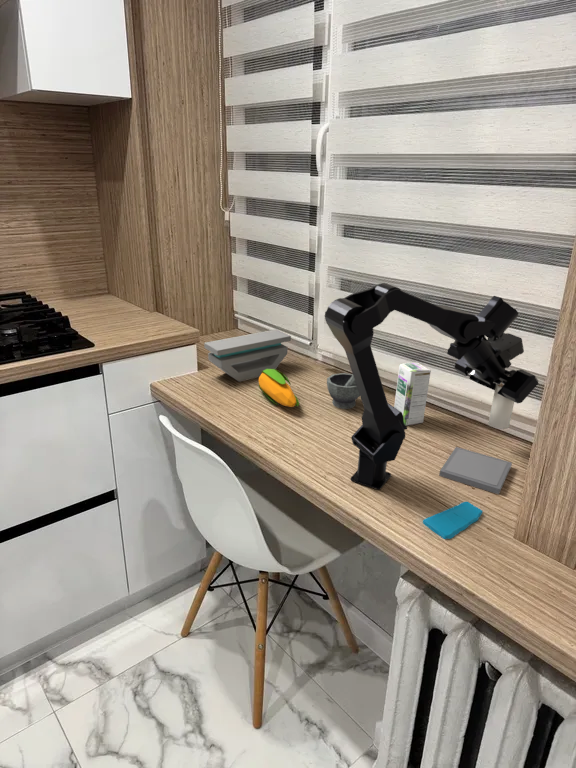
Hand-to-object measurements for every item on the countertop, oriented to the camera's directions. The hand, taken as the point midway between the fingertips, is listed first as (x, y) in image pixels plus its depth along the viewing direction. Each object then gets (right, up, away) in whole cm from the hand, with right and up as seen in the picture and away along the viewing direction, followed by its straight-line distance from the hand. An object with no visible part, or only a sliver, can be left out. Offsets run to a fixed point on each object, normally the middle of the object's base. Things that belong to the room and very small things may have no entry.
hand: (509, 394), depth 117 cm
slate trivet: (-9, -16, -5) cm, 19 cm away
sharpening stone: (-61, +5, +43) cm, 75 cm away
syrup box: (-19, -7, +17) cm, 26 cm away
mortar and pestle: (-34, -3, +24) cm, 42 cm away
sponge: (-18, -23, -20) cm, 36 cm away
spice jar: (-1, -7, +2) cm, 7 cm away
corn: (-51, -2, +26) cm, 57 cm away
